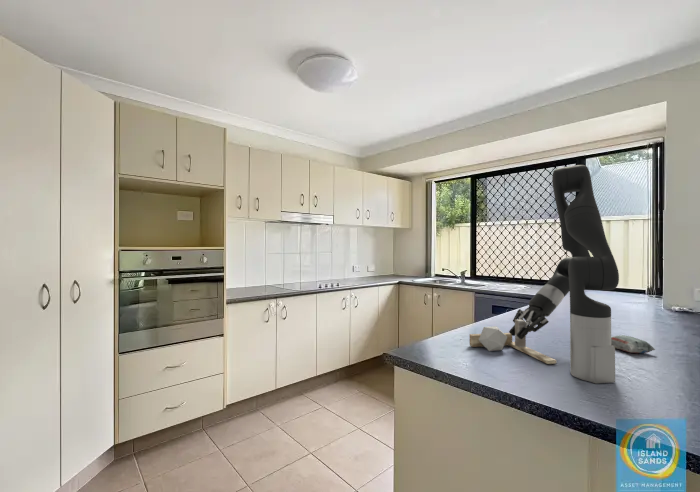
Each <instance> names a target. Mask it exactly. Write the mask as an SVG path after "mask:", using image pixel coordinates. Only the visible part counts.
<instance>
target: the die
mask: <svg viewBox="0 0 700 492" xmlns="http://www.w3.org/2000/svg"><path fill="white" fill-rule="evenodd" d="M504 333H505V332H503V331H502V330H501V329H500V328H499V327H498V326H484V327H483V328H482V331H481V333H480V334H481V335H480V337H479V341H480V342H481V343H482V344H483V345H484V346H483V347H484V348H485V349H486V350H487V351H488V352H493V351H496V352H497V351H498V352H499V351H502V350H503V348H504V347H505V345H504V344H505V342H506V340H507V336H506V335H505V334H504Z"/></svg>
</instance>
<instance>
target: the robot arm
mask: <svg viewBox="0 0 700 492" xmlns="http://www.w3.org/2000/svg"><path fill="white" fill-rule="evenodd" d="M551 177H552V178H551V179H552V181H551V182H552V189H553V193H554V194H553V195H554V200H555V201H554V202H555V206H556V209H557V214H558V219H559V224H560V229H561V230H560V232H561V244H562V249H563V250H564V251H566V252H568V253H570V254H571V256H567V257H564V258H563V259H561V260H560V261H559V262H558V264H557V265H556V268H555V270H554V272H553V275H552V277H551V278H550V279H549V280H548V281H547V282H546V283H545V284H544V285H543V286H542V287H540V289H539V290H538V291H537V292H536V293H535V295H534V296H533V297H532V298H531V299H530V300H529V301H528V307H527V308H525V309H524V310H522V309H521V308H520V309H518V310H517V312H516V313H515V315H514V318H513V319H512V322H513V324H514V325H513V326H512V327H511V328H510V329H509V330H508V333H510V334H511V335H512V337H515V320H519V319H521V320H524V321H526V324H525V326H524V327H525V328H524V327H523V328H522V329H521V330H520V331H519V332H518V333H517V337H518V338H519V339H523V338H524V337H525V336H526V337H527V335H528V333H531V332H533V333H536V332H537V331H539V330H540V329H542V328H543V327H545V325H547V324H548V323H549V322H550V321H549V320H548V319H547V317H550V315H551V314H552V313H553V312H554V311H555V309H557V307H558V306H559V305H561V302H562V301H563V299H564V298H566V296H567V295H568V294H569V321H570V322H569V332H570V333H569V345H570V346H569V347H570V348H569V350H570V351H569V357H570V358H569V359H570V360H569V361H570V362H569V363H570V367H569V369H570V374H571V376H573V377H575V378H576V379H579V380H583V381H585V382H590V383H593V384H607V383H609V384H611V383H616V348H615V347H614V346H612V345H611V337H612V308H611V306H610V305H608V304H606V303H603V302H600V301H598V300H594V299H592V298H591V297H590V296H587V295H586V293H585V291H587V290H588V291H613V290H615V289H616V288H617V287H618V285H619V282H620V273H619V269H618V265H617V262H616V260H615V257H614V255H613V253H612V250H611V247H610V245H609V243H608V240H607V237H606V233H605V230H604V224H603V221H602V216H601V213H600V210H599V207H598V204H597V201H596V198H595V194H594V190H593V183H592V178H591V177H592V176H591V172H590V169H589V167H588V166H587V165H584V164H577V165H571V166H563V167H557V168H555V169H554V170H553V171H552V176H551ZM577 192H578V194H577V195H576V197H575V198H574V199H573V200H572V201H571V202H570V204H568V202H567V200H566V196H565V195H566V194H569V193H577ZM591 255H592V256H591Z"/></svg>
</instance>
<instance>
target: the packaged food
mask: <svg viewBox="0 0 700 492" xmlns="http://www.w3.org/2000/svg"><path fill="white" fill-rule="evenodd" d="M611 345H612V346H614V347H615V349H617V350H620V351H622V352H626V353H632V354H647V353H650V352H652V351H655V350H656V349H655V348H654V347H653V346H652V345H651V344H650V343H648V342H647V341H645V340H642V339H639V338H637V337H633V336H629V335H625V334H624V335H621V334H620V335H615V336H611Z"/></svg>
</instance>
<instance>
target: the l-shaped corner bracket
mask: <svg viewBox="0 0 700 492" xmlns="http://www.w3.org/2000/svg"><path fill="white" fill-rule="evenodd" d="M525 324H526V320H525V319H523V320H521V319H519V320H518V319H517V320H515V323H514V325H515V336H514V341H513V336H512V335H511V334H510V333H509V332H503V333H504V334H505V335H506V336H507V340H506V342H505V344H504V346H510V347H511V348H512V349H513V348H514V349H515V350H518V351H519V352H522V353H524V354H526V355H529V356H530V357H532V358H534V359H536V360H538V361H541V362H543V363H545V364H547V365H552V364H553V365H555V364H557V359H554V358H552V357H550V356H549V355H546V354H544V353H541V352H539V351H537V350H535V349H532V348H530V347H527V345H526V344H527V343H526V341H527V340H526V337H527V335H526V336H525V337H524V338H523V339H519V338H518V337H517V333H518V332H519V331H520V330H521V329H522V328H523V327H524V326H525ZM524 328H525V327H524ZM480 335H481V333H472V334H471V333H470V334H469V346H470V347H472V348H477V347H485V346H484V345H483V344H482V343H481V342H480V341H479V337H480Z"/></svg>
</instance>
